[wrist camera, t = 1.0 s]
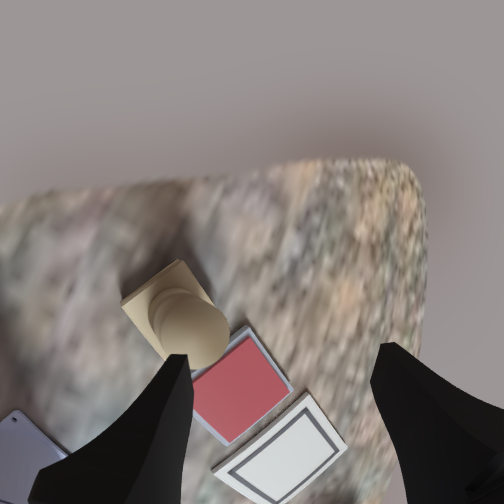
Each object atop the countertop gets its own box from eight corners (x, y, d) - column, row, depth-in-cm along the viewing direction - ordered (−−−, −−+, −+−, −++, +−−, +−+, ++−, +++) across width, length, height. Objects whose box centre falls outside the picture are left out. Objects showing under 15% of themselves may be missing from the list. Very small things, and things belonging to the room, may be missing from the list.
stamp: (161, 352, 22) (187, 398, 15) (119, 299, 20) (127, 329, 14) (212, 312, 24) (258, 341, 17) (175, 258, 22) (208, 267, 16)
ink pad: (223, 442, 24) (228, 449, 23) (166, 387, 22) (169, 393, 21) (289, 386, 27) (296, 391, 26) (245, 324, 25) (251, 328, 24)
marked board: (270, 509, 27) (273, 513, 27) (210, 470, 24) (213, 474, 23) (344, 445, 31) (348, 448, 31) (305, 391, 28) (310, 394, 27)
